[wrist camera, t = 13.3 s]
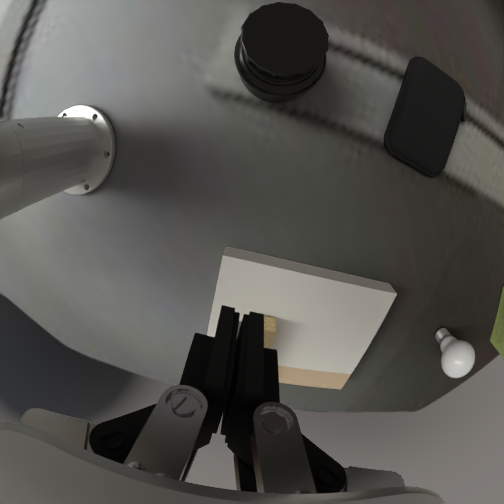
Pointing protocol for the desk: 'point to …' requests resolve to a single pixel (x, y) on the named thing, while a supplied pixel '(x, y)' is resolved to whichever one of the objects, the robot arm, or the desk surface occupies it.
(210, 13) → the desk surface
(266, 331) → the gold bar
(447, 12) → the desk surface
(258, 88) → the ink bottle
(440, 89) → the carrying case or bag
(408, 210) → the desk surface
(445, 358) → the lightbulb
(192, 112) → the desk surface
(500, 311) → the protein box
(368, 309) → the white cabinet door
